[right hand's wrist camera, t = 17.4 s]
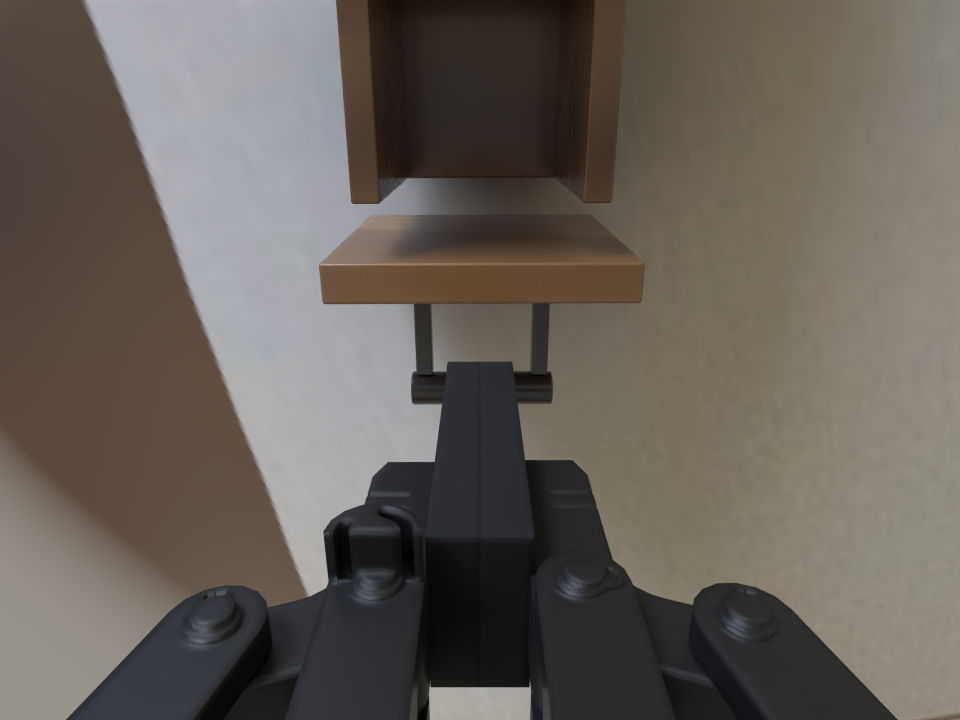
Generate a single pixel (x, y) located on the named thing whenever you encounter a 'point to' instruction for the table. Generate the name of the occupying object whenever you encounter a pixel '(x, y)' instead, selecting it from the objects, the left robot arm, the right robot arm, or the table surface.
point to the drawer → (481, 161)
